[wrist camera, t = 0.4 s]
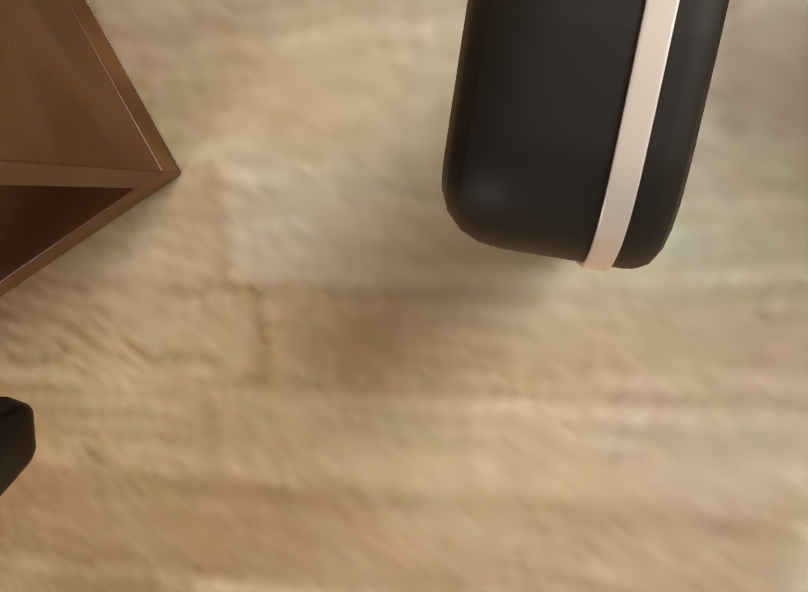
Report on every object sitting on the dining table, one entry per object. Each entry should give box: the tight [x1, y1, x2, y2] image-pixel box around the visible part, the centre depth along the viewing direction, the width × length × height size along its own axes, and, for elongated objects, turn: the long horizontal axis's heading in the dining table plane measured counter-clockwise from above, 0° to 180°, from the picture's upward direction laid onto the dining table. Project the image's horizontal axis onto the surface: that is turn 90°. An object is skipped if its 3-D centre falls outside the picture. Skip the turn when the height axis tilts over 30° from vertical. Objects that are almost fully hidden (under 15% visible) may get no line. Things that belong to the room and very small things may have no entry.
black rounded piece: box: [442, 0, 729, 270], centre depth 14 cm, size 7×4×11 cm, turn 172°
